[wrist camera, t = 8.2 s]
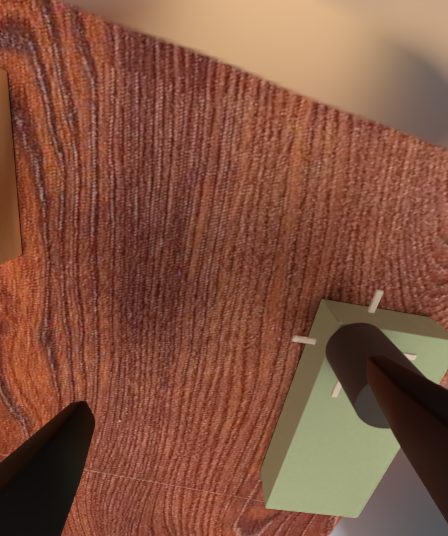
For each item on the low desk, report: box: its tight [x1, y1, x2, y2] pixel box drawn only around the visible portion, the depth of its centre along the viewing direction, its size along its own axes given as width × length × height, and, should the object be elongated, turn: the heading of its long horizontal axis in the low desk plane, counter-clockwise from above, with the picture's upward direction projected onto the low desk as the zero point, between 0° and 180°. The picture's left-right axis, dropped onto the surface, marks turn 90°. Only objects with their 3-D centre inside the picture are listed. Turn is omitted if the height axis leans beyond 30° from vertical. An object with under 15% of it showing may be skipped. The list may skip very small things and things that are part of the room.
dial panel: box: [261, 289, 448, 518], centre depth 20 cm, size 20×10×3 cm, turn 169°
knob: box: [325, 323, 426, 429], centre depth 14 cm, size 4×4×4 cm
